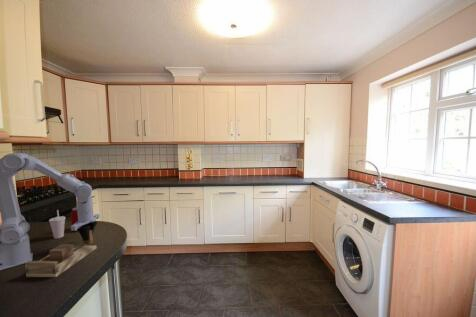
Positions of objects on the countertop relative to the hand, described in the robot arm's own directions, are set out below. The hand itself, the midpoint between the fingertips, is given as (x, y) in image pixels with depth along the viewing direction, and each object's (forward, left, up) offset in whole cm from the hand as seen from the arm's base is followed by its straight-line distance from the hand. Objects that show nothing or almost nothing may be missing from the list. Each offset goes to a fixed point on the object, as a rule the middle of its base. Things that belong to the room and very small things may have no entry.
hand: (87, 239), depth 95 cm
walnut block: (-5, -5, -2) cm, 8 cm away
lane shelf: (-8, -9, -3) cm, 12 cm away
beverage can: (0, +26, -3) cm, 27 cm away
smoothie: (-9, +22, -3) cm, 25 cm away
